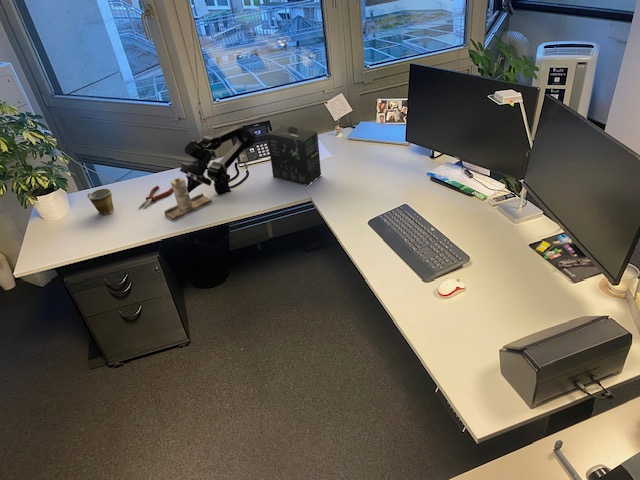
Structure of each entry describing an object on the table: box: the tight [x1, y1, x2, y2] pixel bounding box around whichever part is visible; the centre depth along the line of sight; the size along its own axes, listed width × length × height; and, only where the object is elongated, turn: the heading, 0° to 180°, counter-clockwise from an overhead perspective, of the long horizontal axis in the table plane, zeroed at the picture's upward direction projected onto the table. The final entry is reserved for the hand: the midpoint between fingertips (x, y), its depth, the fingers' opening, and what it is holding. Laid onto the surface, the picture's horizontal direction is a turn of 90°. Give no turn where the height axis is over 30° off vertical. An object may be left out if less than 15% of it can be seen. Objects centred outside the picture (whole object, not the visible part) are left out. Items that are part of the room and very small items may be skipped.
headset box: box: [266, 124, 322, 186], centre depth 227 cm, size 22×12×26 cm, turn 58°
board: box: [163, 192, 212, 222], centre depth 218 cm, size 21×8×2 cm, turn 134°
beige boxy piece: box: [170, 177, 192, 211], centre depth 212 cm, size 5×8×15 cm, turn 44°
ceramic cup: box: [87, 188, 115, 216], centre depth 221 cm, size 13×10×10 cm
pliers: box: [138, 185, 174, 210], centre depth 229 cm, size 12×20×3 cm, turn 159°
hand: (187, 192), depth 214 cm, fingers closed
